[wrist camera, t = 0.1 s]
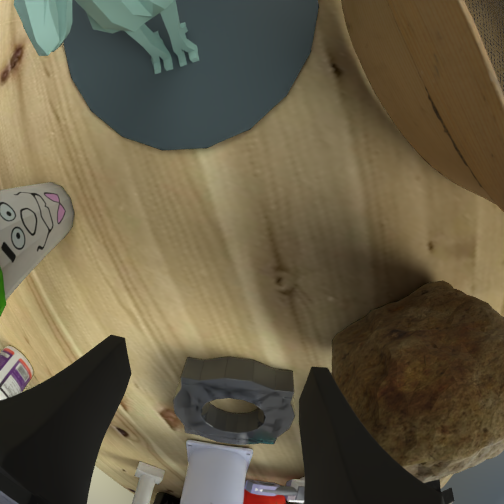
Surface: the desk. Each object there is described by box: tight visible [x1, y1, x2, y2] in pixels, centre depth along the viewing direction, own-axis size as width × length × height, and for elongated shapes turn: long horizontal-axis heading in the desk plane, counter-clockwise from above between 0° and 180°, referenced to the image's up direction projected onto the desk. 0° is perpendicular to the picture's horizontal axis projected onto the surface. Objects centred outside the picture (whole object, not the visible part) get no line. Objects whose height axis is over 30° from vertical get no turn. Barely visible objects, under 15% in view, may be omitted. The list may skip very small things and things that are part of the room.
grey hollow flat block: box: [173, 357, 295, 445], centre depth 24 cm, size 11×11×2 cm
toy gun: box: [244, 477, 305, 503], centre depth 29 cm, size 7×28×8 cm
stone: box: [332, 281, 504, 483], centre depth 14 cm, size 11×9×15 cm
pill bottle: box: [0, 346, 33, 400], centre depth 23 cm, size 5×5×10 cm
